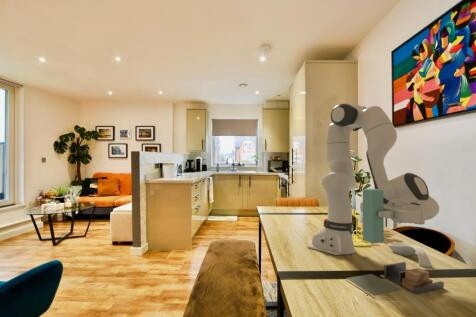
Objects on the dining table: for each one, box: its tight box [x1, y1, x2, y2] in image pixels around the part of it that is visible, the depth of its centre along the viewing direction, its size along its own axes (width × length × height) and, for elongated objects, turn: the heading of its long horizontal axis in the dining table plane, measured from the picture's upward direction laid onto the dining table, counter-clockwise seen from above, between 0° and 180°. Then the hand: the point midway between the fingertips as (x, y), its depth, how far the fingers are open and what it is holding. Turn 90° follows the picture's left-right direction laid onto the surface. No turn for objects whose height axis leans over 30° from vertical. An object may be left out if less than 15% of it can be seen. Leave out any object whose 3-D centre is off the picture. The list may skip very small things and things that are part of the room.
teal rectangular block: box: [362, 188, 385, 245], centre depth 84 cm, size 5×4×18 cm
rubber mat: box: [345, 273, 403, 300], centre depth 84 cm, size 12×12×1 cm
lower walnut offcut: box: [402, 278, 434, 291], centre depth 82 cm, size 9×4×2 cm, turn 108°
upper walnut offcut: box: [405, 267, 430, 284], centre depth 82 cm, size 7×4×2 cm, turn 114°
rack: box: [379, 261, 445, 295], centre depth 86 cm, size 13×14×5 cm
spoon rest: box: [387, 242, 433, 269], centre depth 110 cm, size 24×12×7 cm, turn 173°
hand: (371, 212), depth 84 cm, fingers closed on teal rectangular block, 4 cm apart
